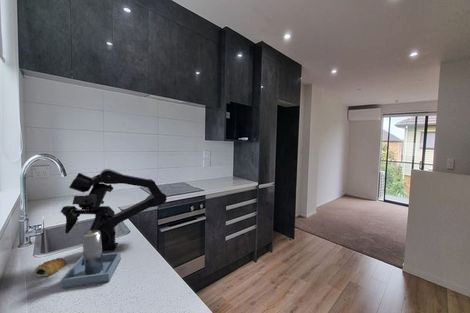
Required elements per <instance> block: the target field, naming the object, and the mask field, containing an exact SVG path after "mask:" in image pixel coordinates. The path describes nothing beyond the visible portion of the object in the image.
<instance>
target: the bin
mask: <svg viewBox="0 0 470 313" xmlns="http://www.w3.org/2000/svg"><path fill="white" fill-rule="evenodd" d="M102 256H103V270H102V271H101V272H100V273H98V274H93V275H85V265H84V256H81V257H80V258H79V259H78V260H77V261H76V263H74V265H72V267H71V268H70V269H69V270H68V271H67V272H66V274H65V275H64V276H63V277H62V278H61V279H60V280H61V281H60V282H61V289H69V288H78V287H83V286H90V285H98V284H104V283H110V281H111V279H112V278H113V276H114V274H115V271H116V270H117V267H118V266H119V264H120V261H121V259H122V256H121V252H111V253H102Z"/></svg>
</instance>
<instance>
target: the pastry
mask: <svg viewBox="0 0 470 313" xmlns="http://www.w3.org/2000/svg"><path fill="white" fill-rule="evenodd" d="M65 264H66V259H65V258H62V257H57V258H54V259H51V260H47V261H44V262H43V263H41V264H38V266H37V267H36V268H35V270H34V272H32V274H33V276H35V277H36V278H40V277H49V276H52V275H54V274H56V272H58V271H60V269H62V268H64V266H65Z"/></svg>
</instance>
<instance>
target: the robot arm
mask: <svg viewBox="0 0 470 313" xmlns="http://www.w3.org/2000/svg"><path fill="white" fill-rule="evenodd" d="M117 184H124V185H131V186H134V187H135V186H136V187H141V188H143V187H144V188H148V191H149V192H150V194H149V195H148V196H147V197H146V198H145V199H143V200H142V201H140V202H137V203H135V204H133V205H132V206H129V207H127V208H125V209H123V210H122V211H119V212H117V213H115V211H114V210H113V208H111V207H110V206H109V205H104V203H105V201H104V198H105V196H106V195H107V192H109V193H111V192H112V191H113V190H114V187H113V186H112V185H117ZM68 188H69V189H71V190H74V191H77V192H80V193H85V192H89V193H88V194H86V195H74V196H73V200H72V205H64V206H62V208H61V210H60V213H61V214H62V215H63V216H65V219H66V220H65V230H64V233H65V234H69V232H71V230H72V229H73V227H74V225H76V223H77V222H78V221H79V217H80V216H81V215H94V219H93V222H92V224H91V226H90V228H89V231H90V230H99V231H100V232H101V242H102V253H103V252H105V253H106V252H113V251H115V250H116V248H117V247H118V245H119V242H116V227H117V226H118V225H119V224H120V223H122V222H124V221H127V220H128V219H130V218H132V217H134V216H136V215H138V214H139V213H140V214H141V213H142V212H144V211H146V210H148V209H149V208H156V207H160V206H162V205H164V204H166V202H167V199H168V198H167V197H168V196H167V195H166V194H165V193H164V192H163V191H161V188H159V186H158V185H157V183H156V182H155V180H153V179H152V178H143V177H139V176H133V175H128V174H127V175H126V174H123V173H121V172H118V171H116V170H112V169H110V168H106V169H105V168H104V169H103V170H102V171H100V173H99V174H97V175H94V176H92V177H90V176H87V175H86V174H83V173H81V172H78V174H77V175H76V176H75V178H74V179H73V180H72V182H71V183H70V185H69V187H68ZM90 189H91V190H90ZM75 205H76V206H77V205H78V207H79V208H77V207H76V206H75Z"/></svg>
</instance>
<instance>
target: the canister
mask: <svg viewBox="0 0 470 313" xmlns="http://www.w3.org/2000/svg"><path fill="white" fill-rule="evenodd" d="M81 238H82V239H81V240H82V251H83V257H84V265H85V275H93V274H98V273H100V272H101V271H102V270H103V256H102V254H103V252H102V242H101V232H100V231H99V230H90V229H89V230H88V231H86V232H84V233H82V236H81Z"/></svg>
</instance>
